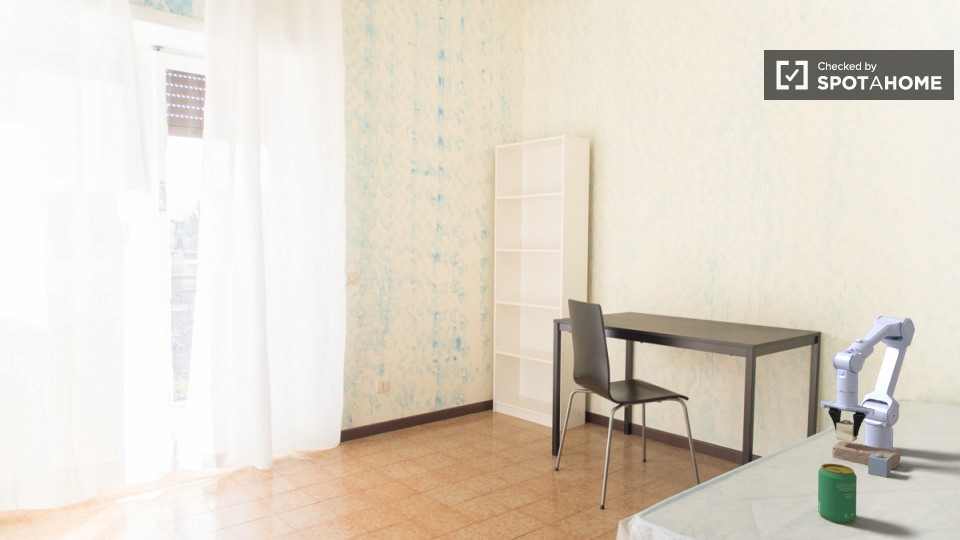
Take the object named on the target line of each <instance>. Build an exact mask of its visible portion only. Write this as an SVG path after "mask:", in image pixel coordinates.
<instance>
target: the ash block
mask: <svg viewBox="0 0 960 540" xmlns="http://www.w3.org/2000/svg"><path fill="white" fill-rule="evenodd" d="M835 434H836V436H835V437H836V440H839V441H847V442H852V443H855V441H857V440H858V436H857V437H854V422H851V420H849V419H843V420H840V422H838V423H837V425H836V430H835Z"/></svg>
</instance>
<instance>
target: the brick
mask: <svg viewBox="0 0 960 540" xmlns="http://www.w3.org/2000/svg"><path fill="white" fill-rule="evenodd" d="M831 451H832V453H831V458H833V459H836V460H837V459H838V460H840V461H841V460H843V461H848V462H851V463H856V464H860V465H864V466H865V465H866V466H868V457H869V456H870V455H872V454H876V453H881V454H883V455H884V456H888V457H891V466H890V470H892V469H893V470H894V469H896V468H897V467H898V466H900V462H901V461H900V460H901V454H900V453H901V452H900V451H898V450H890V449H885V448H875V447H871V446H867V445H865V444H862V443H857V442H848V441H843V440H839V441H838V442H837V443H835V444H833V446H832V450H831Z"/></svg>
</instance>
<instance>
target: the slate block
mask: <svg viewBox="0 0 960 540" xmlns="http://www.w3.org/2000/svg"><path fill="white" fill-rule="evenodd" d="M890 466H891V457H888V456H884V455H883V454H881V453H876V454H872V455H870V456H869V457H868V465H867V469H868V470H867V471H868V472H867V474H868V475H872V476H877V477H882V478H884V479H886V478H888V477H889V476H890V475H891V469H890Z"/></svg>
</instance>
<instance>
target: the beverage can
mask: <svg viewBox="0 0 960 540" xmlns="http://www.w3.org/2000/svg"><path fill="white" fill-rule="evenodd" d="M817 477H818V479H817V481H818V484H817V486H818V487H817V511H818V513H819V516H820V517H821V518H822V519H824V520H826V521H828V522H831V523H835V524H840V525H841V524H842V525H848V524H852V523H854V521H855V520H856V518H857V483H858V482H857V481H858V479H857V475H856V473H855V471H854V469H853V468H852V467H849V466H847V465H842V464H838V463H823V464H821V466H820V468H819V469H818V475H817Z"/></svg>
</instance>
